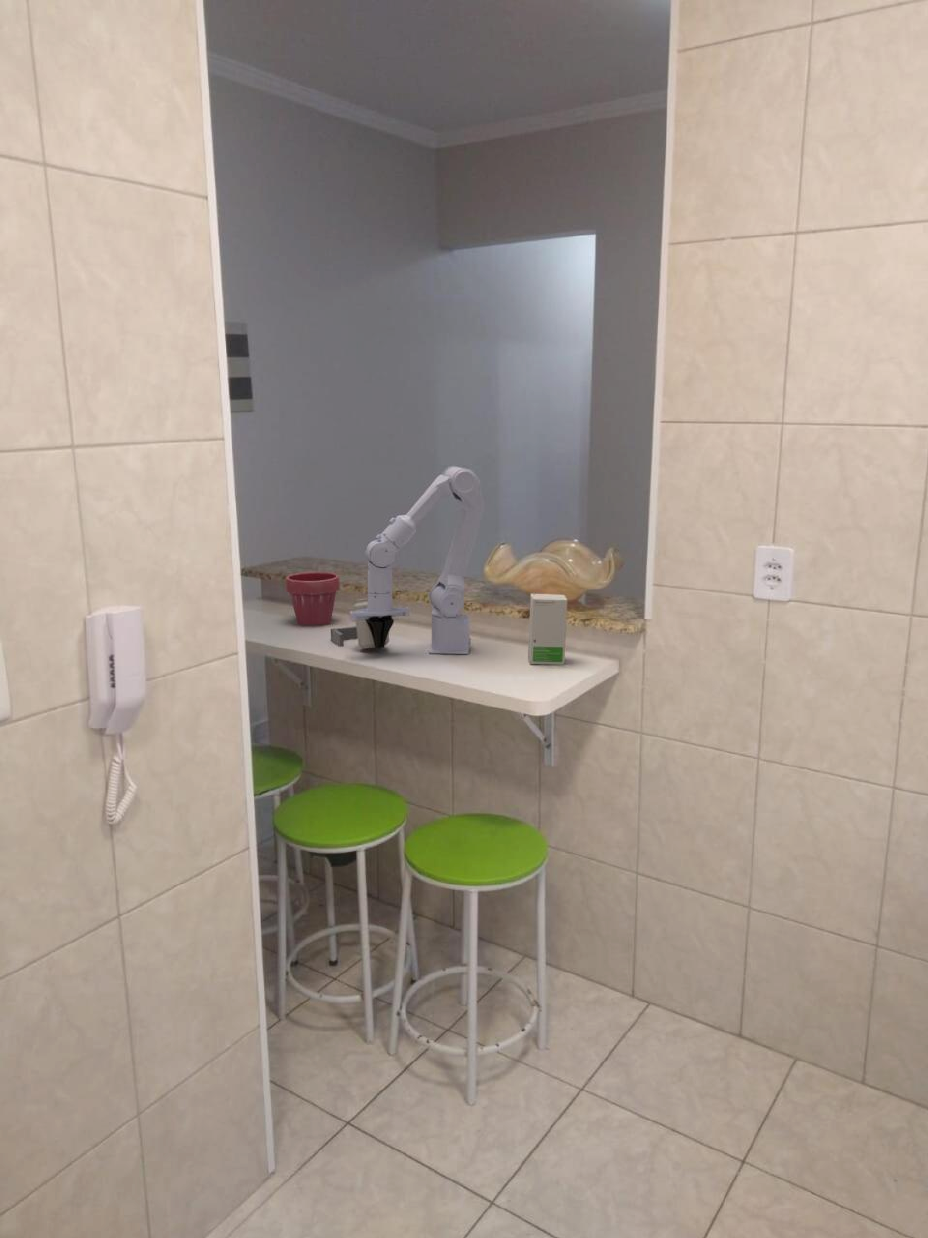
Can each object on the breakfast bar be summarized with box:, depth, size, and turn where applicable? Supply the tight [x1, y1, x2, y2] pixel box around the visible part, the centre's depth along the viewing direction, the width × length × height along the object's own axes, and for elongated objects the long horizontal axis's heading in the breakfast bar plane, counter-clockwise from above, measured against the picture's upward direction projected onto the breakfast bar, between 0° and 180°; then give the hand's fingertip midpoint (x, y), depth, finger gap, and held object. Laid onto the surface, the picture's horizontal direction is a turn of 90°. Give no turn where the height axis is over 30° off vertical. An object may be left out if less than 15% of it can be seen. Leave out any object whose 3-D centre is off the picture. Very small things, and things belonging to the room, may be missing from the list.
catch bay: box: [330, 625, 390, 647], centre depth 238 cm, size 6×13×3 cm, turn 117°
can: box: [353, 597, 390, 649], centre depth 230 cm, size 8×8×12 cm
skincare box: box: [527, 593, 569, 666], centre depth 220 cm, size 8×7×16 cm
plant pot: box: [285, 571, 340, 627], centre depth 256 cm, size 14×14×13 cm
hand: (379, 647), depth 225 cm, fingers closed, pressing on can
